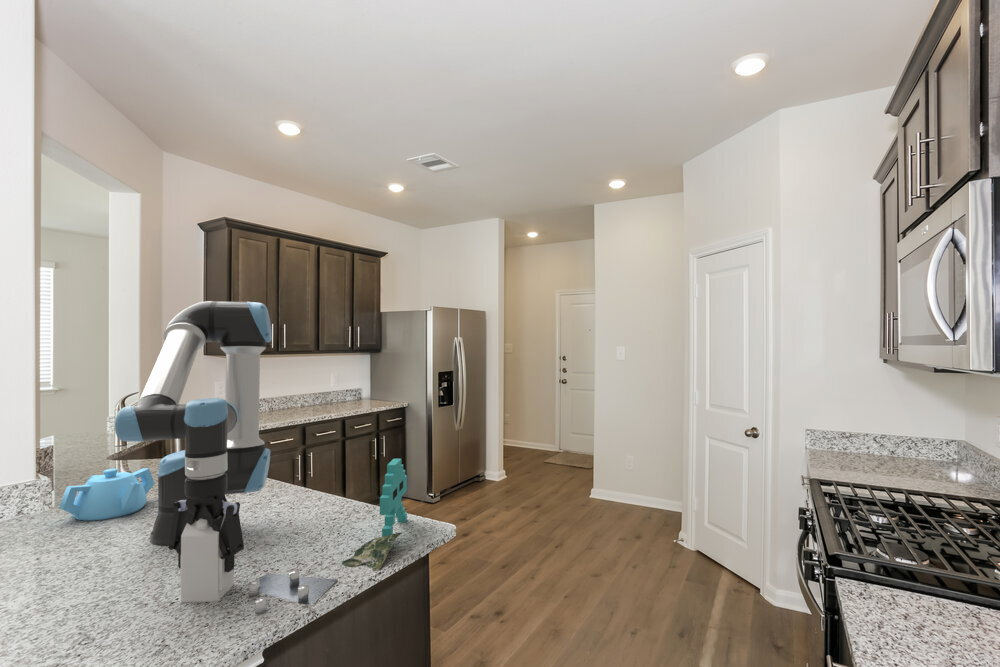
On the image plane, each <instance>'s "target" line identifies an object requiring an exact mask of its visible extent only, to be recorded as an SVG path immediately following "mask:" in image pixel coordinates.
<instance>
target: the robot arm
mask: <svg viewBox="0 0 1000 667" xmlns="http://www.w3.org/2000/svg"><path fill="white" fill-rule="evenodd" d="M271 323H272V322H271V317H270V314H269V310H268V307H267V306H266V304H265V303H262V302H254V301H213V300H206V301H205V300H204V301H200V302H197V303H195V304H192V305H190V306H188V307H186V308H184V309H183V310H181V311H180V312H178V313H177V314H176V315H175V316H174V317H173V318H172V319H171V320H170V321H169V322H168V324H167V326H166V328H165V330H164V331H163V340H164V342H163V345H162V348H161V350H160V351H159V352H160V353H159V355H158V357H157V358H156V361H155V363H154V366H153V367H152V370H151V372H150V374H149V376H148V379H147V382H146V384H145V386H144V388H143V391H142V393H141V395H140V397H139V400H138V401H137V404H136V405H129V406H124V407H122V408H120V409H119V411H118V412H117V413H116V416H115V421H114V432H115V435H116V437H117V439H119V440H120V441H122V442H141V443H143V442H149V441H151V442H152V441H153V442H154V441H164V440H166V441H167V440H177V439H178V440H182V439H184V450H183V449H182V450H180V451H177V452H176V451H175V452H173V453H170V454H168V455H166V456H163V457H162V458H161V459H160V461H159V463H158V473H157V480H158V481H157V482H158V484H157V487H158V490H157V491H158V492H157V495H158V496H157V497H158V508H157V509H158V510H157V511H158V512H157V516H156V519H155V521H154V524H153V528H152V531H151V532H150V535H149V543H151V544H152V545H154V546H159V547H168V549H169V550H170V551H172V550H174V551H176V554H177V561H178V562H177V566H178V569H181V535H182V533H183V531H184V529H185V526H186V524H187V523H188V524H190V525H192V524H193V523H194V522H195V520H194V519H196V521H198V520H199V519H205V520H207V522H208V524H209V526H210V527H212V529H213V530H214V531H217V532H219V547H220V550H221V553H222V556H221V557H219V590H223V589H225V588H226V587H227V586H229V585H230V584H232V570H233V569H234V570H235V555H236V554H238V553H239V552H241V551H243V550H244V549H245V544H244V538H243V532H242V526H241V520H240V509H241V508H240V507H241V503H240V502H239V501H237V502H234V503H233V502H229V501H228V500H227V498H226V495H236V494H244V495H246V494H247V493H249V494H250V493H254V492H259V491H261V490H262V489H263V488H264V487H265V485H266V481H267V478H268V474H269V469H270V468H269V467H270V463H271V462H270V461H271V449H269V448H268V447H266V448H265V443H266V442H265V441H264V440H263V439H261V438H260V382H261V381H260V379H261V377H260V376H261V373H260V372H261V368H260V367H261V364H260V363H261V354H262V353H263V352H264V351H265V350H266V349H267V346H266V345H267V343H271V342H272V340H273V338H272V335H273V334H272V332H273V331H272V325H271ZM205 343H220V344H219V345H220V346H219V347H220V348H219V349H221V351H223V353H224V354H225V356H226V357H225V359H226V360H225V397H224V398H225V399H223V398H219V397H218V398H215V397H212V398H211V397H209V398H197V399H193V400H189V401H188V402H187V403H185V404H180V401H181V398H182V395H183V393H184V389H185V387H186V384H187V381H188V378H189V377H190V376H189V375H190V374H191V373H190V372H191V370H192V367H193V365H194V362H195V359H196V356H197V354H198V351H200V350H201V349H202V348H203V347H204V346H205ZM224 509H225V511H224V512H223V510H224ZM224 514H226V515H225V519H224V521H223V518H224ZM219 516H222V517H221V518H220V519H217V520H215V519H216V518H218V517H219ZM225 520H226V521H225ZM222 521H223V524H222ZM221 525H222V526H221ZM220 528H221V529H220ZM179 586H180V587H181V583H180V585H179Z"/></svg>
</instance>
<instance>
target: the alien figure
mask: <svg viewBox="0 0 1000 667" xmlns="http://www.w3.org/2000/svg"><path fill="white" fill-rule="evenodd" d="M386 465H387V466H386V470H387V471H386V474H384V484H383V485H382V487H381V488H382V489H381V490H382V491H381V492H382V494H381V496H380V497H379V515H380V516H384V525H383V527H382V529H381V537H384V536H388V535H391V534H394V527H393V526H394V525H395V523H396V519H397V523H406V521H407V520H408V512H407V511H406V507H405V506H404V502H402V497H403V496H404V495H405V493H406V492H407V490H408V476H407V475H406V469H404V464H402V458H393V459H392V460H391V461H390V462H388V464H386Z"/></svg>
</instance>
